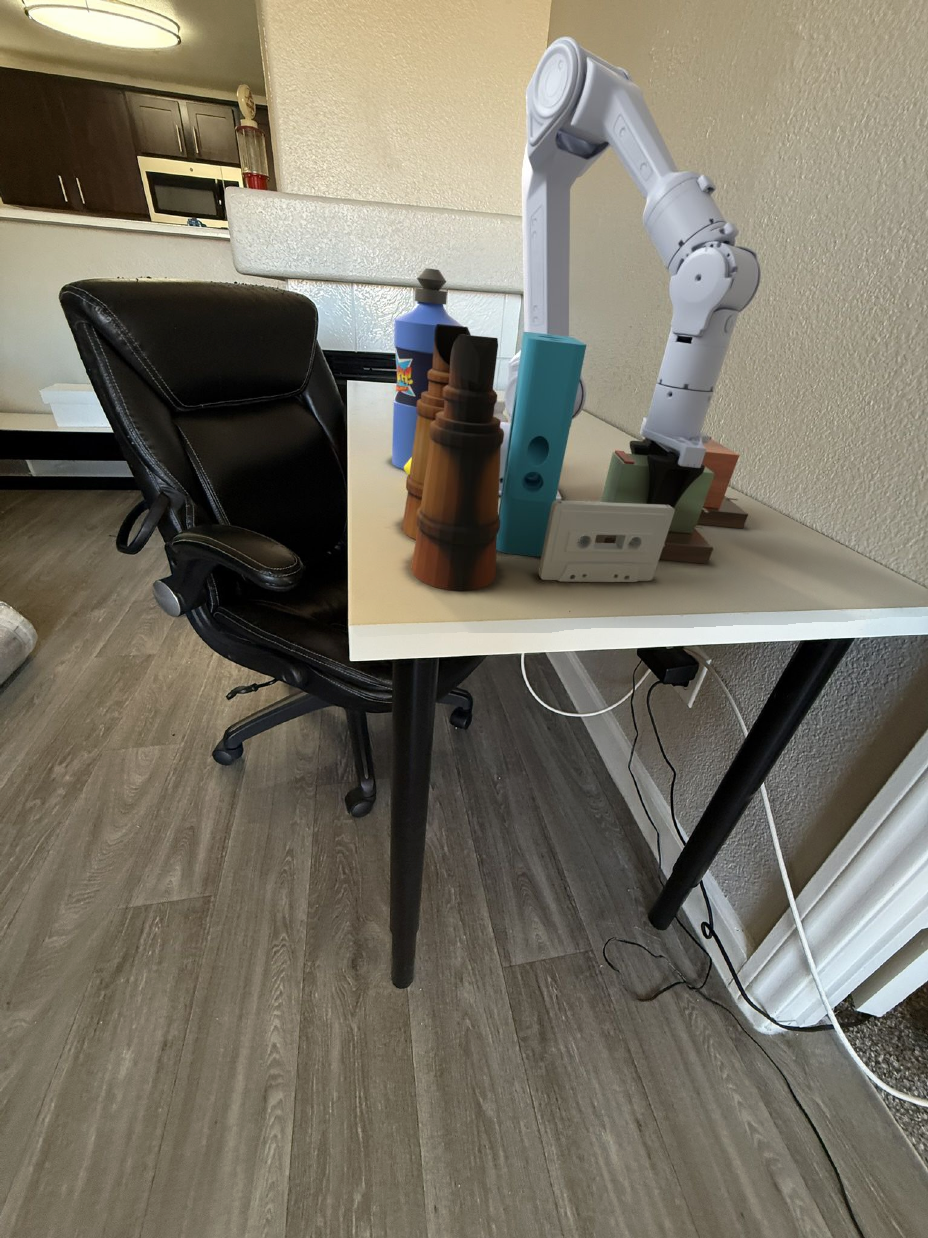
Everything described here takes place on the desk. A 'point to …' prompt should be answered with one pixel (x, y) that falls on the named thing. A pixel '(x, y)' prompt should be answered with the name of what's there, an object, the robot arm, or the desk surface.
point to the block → (537, 439)
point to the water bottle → (415, 358)
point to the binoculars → (456, 465)
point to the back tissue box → (718, 471)
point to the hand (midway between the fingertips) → (647, 512)
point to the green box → (632, 486)
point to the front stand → (677, 546)
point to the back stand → (724, 515)
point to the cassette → (604, 562)
